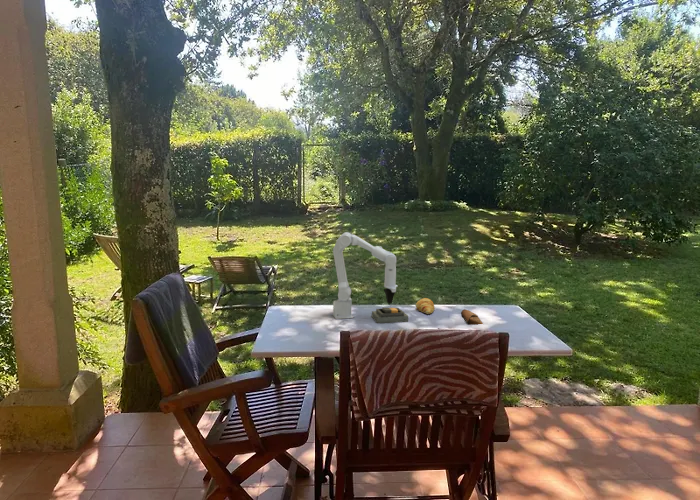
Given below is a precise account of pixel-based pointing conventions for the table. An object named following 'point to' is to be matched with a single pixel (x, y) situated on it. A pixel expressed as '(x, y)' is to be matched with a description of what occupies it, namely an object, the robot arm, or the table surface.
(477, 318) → the brown pointed cylinder
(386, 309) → the breaker switch
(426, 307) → the croissant
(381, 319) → the breaker box
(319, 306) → the table surface
